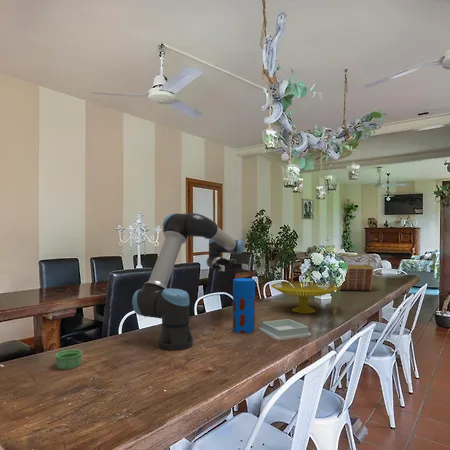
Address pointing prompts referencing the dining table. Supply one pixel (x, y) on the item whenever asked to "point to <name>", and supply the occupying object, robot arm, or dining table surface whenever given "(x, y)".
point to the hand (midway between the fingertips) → (236, 268)
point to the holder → (284, 329)
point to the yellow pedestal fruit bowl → (304, 293)
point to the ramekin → (68, 359)
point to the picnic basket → (358, 276)
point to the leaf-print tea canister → (243, 305)
